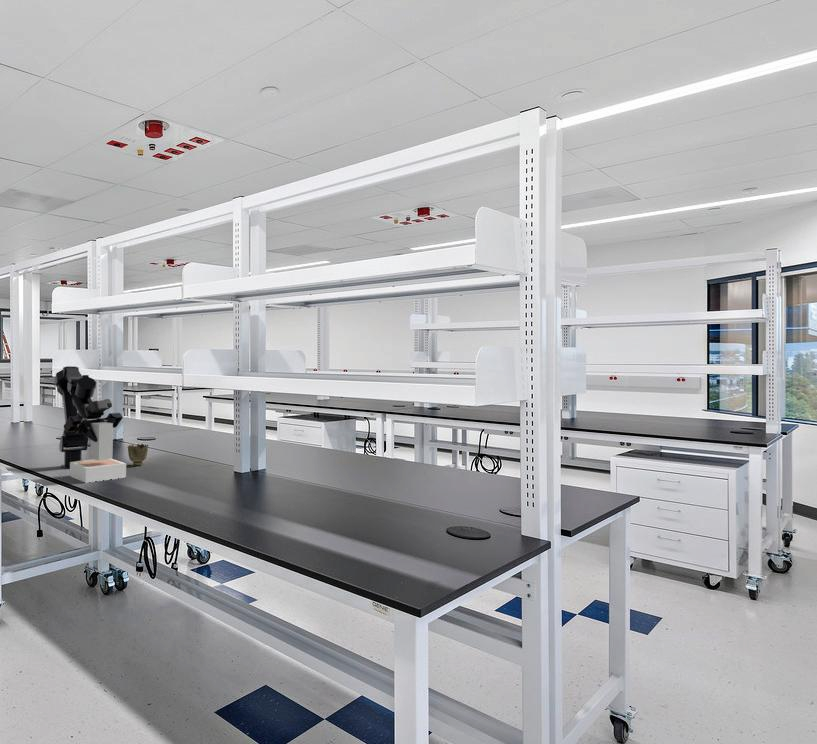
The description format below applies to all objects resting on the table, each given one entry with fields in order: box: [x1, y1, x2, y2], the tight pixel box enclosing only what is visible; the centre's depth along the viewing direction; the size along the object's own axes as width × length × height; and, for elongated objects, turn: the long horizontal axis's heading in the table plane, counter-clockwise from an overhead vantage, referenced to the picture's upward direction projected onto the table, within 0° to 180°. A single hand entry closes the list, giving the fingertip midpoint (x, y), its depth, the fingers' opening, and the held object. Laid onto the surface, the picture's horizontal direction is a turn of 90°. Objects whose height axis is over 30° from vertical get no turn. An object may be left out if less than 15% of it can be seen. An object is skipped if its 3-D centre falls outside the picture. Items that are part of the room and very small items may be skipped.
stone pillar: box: [89, 422, 114, 460], centre depth 201 cm, size 5×5×12 cm
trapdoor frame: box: [69, 458, 127, 484], centre depth 204 cm, size 15×13×5 cm
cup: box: [127, 443, 149, 467], centre depth 226 cm, size 8×7×8 cm
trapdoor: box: [77, 459, 120, 467], centre depth 204 cm, size 12×10×4 cm
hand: (103, 440), depth 201 cm, fingers closed on stone pillar, 5 cm apart
